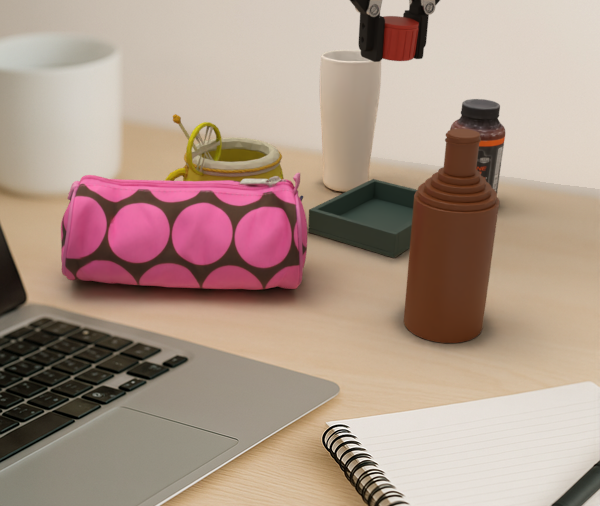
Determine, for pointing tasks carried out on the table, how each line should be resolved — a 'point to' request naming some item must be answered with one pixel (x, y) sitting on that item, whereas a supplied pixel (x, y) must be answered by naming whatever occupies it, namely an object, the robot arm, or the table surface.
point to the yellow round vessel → (226, 157)
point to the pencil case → (185, 233)
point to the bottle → (451, 246)
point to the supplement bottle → (485, 135)
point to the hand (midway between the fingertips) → (391, 55)
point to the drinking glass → (347, 116)
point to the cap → (400, 38)
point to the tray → (368, 217)
